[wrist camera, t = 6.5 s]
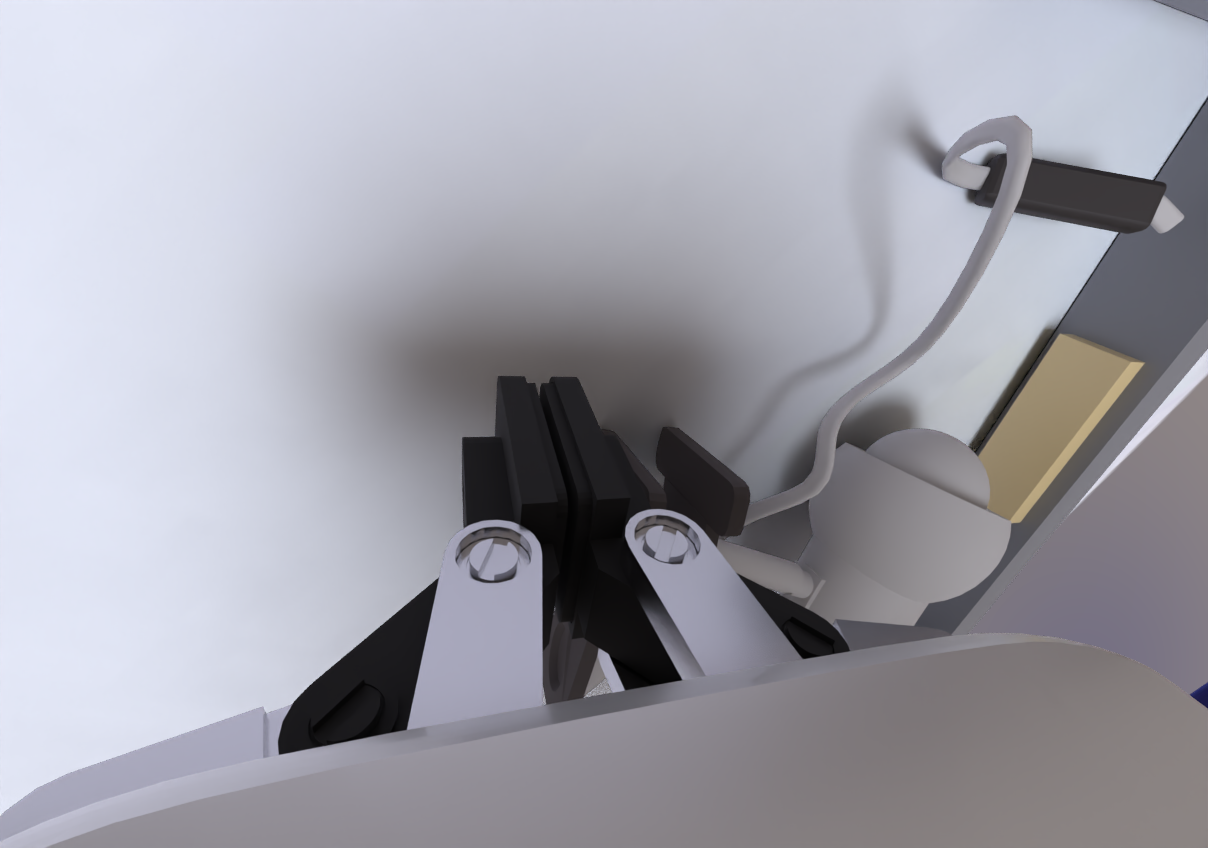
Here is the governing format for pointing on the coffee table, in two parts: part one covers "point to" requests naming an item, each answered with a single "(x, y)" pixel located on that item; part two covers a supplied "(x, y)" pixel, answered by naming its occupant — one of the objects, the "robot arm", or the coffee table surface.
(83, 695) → the coffee table surface
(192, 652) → the coffee table surface
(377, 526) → the coffee table surface
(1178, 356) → the grey u-shaped handle
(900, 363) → the clip-on lamp
